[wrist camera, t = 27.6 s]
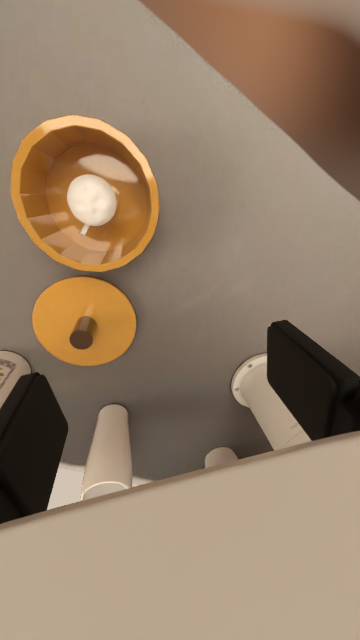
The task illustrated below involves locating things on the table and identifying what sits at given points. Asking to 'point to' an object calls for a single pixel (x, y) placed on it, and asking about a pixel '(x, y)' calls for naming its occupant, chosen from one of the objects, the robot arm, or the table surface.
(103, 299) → the lid
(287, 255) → the table surface
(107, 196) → the milkshake
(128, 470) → the drinking glass
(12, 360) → the bath foam
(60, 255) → the orange bowl
